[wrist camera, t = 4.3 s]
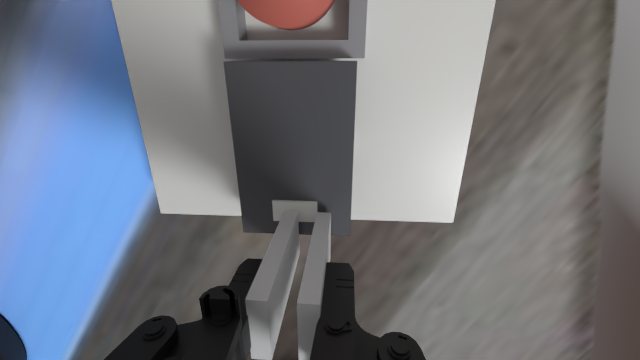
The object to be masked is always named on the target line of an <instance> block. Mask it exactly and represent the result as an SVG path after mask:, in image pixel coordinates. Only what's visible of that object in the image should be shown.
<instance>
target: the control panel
mask: <svg viewBox="0 0 640 360" xmlns="http://www.w3.org/2000/svg"><path fill="white" fill-rule="evenodd" d="M495 1H496V0H335V1H334V3H333V5H332V6H331V8H330V9H329V11H328V12H327V13H326V15H325V16H324V17H323V18H322V19H320V20H319V21H318V22H317V23H315V24H313V25H312V26H310V27H307V28H305V29H300V30H283V29H279V28H276V27H273V26H271V25H268V24H265V23H263V22H261V21H259V20H257V19H256V18H254V17H253V16H252V15H250V14H249V13H248V12H247V11H246V10H245V9H244V8H243V7H242V6H241V5H240V3H239V2H238V0H111V2H112V6H113V10H114V15H115V19H116V23H117V27H118V32H119V36H120V40H121V45H122V49H123V53H124V57H125V62H126V66H127V70H128V74H129V79H130V83H131V87H132V92H133V96H134V100H135V104H136V109H137V113H138V117H139V121H140V126H141V130H142V134H143V138H144V143H145V147H146V151H147V156H148V160H149V164H150V168H151V173H152V177H153V181H154V185H155V190H156V194H157V198H158V202H159V207H160V211H161V213H167V214H198V215H229V216H242V214H241V206H240V197H239V189H238V181H237V172H236V164H235V155H234V147H233V139H232V130H231V122H230V113H229V105H228V96H227V88H226V80H225V71H224V63H223V62H225V61H357V80H356V105H355V129H354V154H353V178H352V202H351V219H353V220H385V221H416V222H447V223H453V220H454V215H455V210H456V205H457V200H458V194H459V189H460V184H461V179H462V173H463V168H464V163H465V158H466V153H467V147H468V142H469V137H470V132H471V126H472V121H473V116H474V111H475V105H476V100H477V95H478V90H479V85H480V79H481V74H482V69H483V64H484V58H485V53H486V48H487V43H488V38H489V32H490V27H491V22H492V17H493V11H494V6H495Z"/></svg>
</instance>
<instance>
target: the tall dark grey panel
mask: <svg viewBox="0 0 640 360" xmlns="http://www.w3.org/2000/svg"><path fill="white" fill-rule="evenodd" d="M223 63H224V71H225V80H226V88H227V96H228V105H229V113H230V122H231V130H232V139H233V147H234V155H235V164H236V172H237V181H238V189H239V197H240V206H241V214H242V223H243V231H244V232H249V233H275V231H276V228H277V226H278V224H279V222H280V219H281V217H282V215H283V212H284V211H298V220H299V234H305V235H312V232H313V227H314V223H315V218H316V214H317V212H325V213H331V235H333V236H350V227H351V202H352V178H353V154H354V129H355V105H356V80H357V61H225V62H223Z"/></svg>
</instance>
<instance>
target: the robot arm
mask: <svg viewBox="0 0 640 360" xmlns="http://www.w3.org/2000/svg"><path fill="white" fill-rule="evenodd" d="M330 248H331V213H325V212H317V214H316V218H315V223H314V227H313V232H312V236H311V241H310V246H309V250H308V255H307V259H306V264H305V268H304V273H303V278H302V282H301V287H300V291H299V296H298V300H297V322H298V353H299V360H426V359H425V357H424V355H423V352H422V350H421V348H420V347H419V345H418V344H417V342H416V341H415V340H414V339H412V338H411V337H410V336H408V335H406V334H403V333H401V332H390V333H386V334H385V335H383V336H382V337H381V338H379V337H377V336H374V335H371V334H369V333H367V332H366V331H364V330H363V329H362V328H361V327H360V326H359V325H358V323H357V321H356V319H355V302H354V271H353V269H352V268H351V266H350V264H349V263H332V262H330ZM298 258H299V220H298V211H284V212H283V215H282V217H281V219H280V222H279V224H278V226H277V228H276V231H275V233H274V235H273V237H272V240H271V242H270V244H269V246H268V249H267V251H266V253H265V256H264V258H263V259H247V260H245V261H244V262H243V263H242V264H241V265H239V267H238V269H237V271H236V273H235V275H234V276H233V278H232V281H231V282H230V284H229V286H217V287H214V288H211V289H209V290H208V291H206V292H205V293H203V295H202V296H201V297H200V298H199V300H200V306H201V311H202V319H201V320H199V321H195V322H191V323H185V324H180V325H177V323H176V321H175V319H174V318H172V317H170V316H158V317H153V318H151V319H149V320H147V321H145V322H144V323H142V324H141V325H140V326H138V327H137V328H136V329H135V330H134V331H133V332H132V333H131V334H130V335H129V336H128V337H127V338H126V339H125V340H124V341H123V342H122V343H121V344H120V345H119V346H118V347H117V348H116V349H114V350H113V351H112V352H111V353H110V354H109V355H108V356H107V357H106V358H105V359H104V360H247V357H248V354H249V351H250V349H251V358H252V359H262V360H272V358H273V354H274V350H275V346H276V343H277V339H278V335H279V331H280V327H281V323H282V319H283V316H284V312H285V308H286V304H287V300H288V296H289V293H290V289H291V285H292V281H293V277H294V273H295V270H296V266H297V262H298ZM0 360H27V359H26V352H25V349H24V346H23V344H22V342H21V340H20V339H19V337H18V336H17V334H16V333H15V331H14V330H13V329H12V328H11V326H10V325H9V324H8V323H7V322H6V321H5V320H4V319H3V318H2V317H1V316H0Z"/></svg>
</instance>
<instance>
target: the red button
mask: <svg viewBox="0 0 640 360" xmlns="http://www.w3.org/2000/svg"><path fill="white" fill-rule="evenodd" d="M334 1H335V0H238V2H239V3H240V5H241V6H242V7H243V8H244V9H245V10H246V11H247V12H248V13H249V14H250V15H252V16H253V17H254V18H256V19H257V20H259V21H261V22H263V23H265V24H268V25H271V26H273V27H276V28H279V29H283V30H300V29H305V28H307V27H310V26H312V25H313V24H315V23H317V22H318V21H319V20H320V19H322V18H323V17H324V16H325V15H326V13H327V12H328V11H329V9H330V8H331V6H332V5H333V3H334Z"/></svg>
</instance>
